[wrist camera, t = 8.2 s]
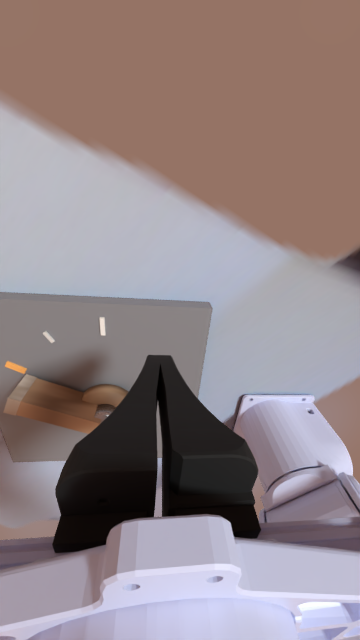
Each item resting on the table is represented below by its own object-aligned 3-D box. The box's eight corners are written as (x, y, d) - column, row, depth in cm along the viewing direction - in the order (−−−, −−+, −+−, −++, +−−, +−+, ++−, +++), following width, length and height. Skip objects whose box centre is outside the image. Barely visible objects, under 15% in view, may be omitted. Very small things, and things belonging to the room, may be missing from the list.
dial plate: (209, 302, 23) (212, 309, 21) (187, 446, 33) (188, 458, 31) (-37, 290, 20) (-53, 297, 19) (19, 450, 30) (12, 463, 29)
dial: (144, 395, 25) (142, 419, 22) (122, 429, 27) (118, 456, 25) (32, 357, 22) (13, 381, 19) (17, 400, 24) (-2, 427, 21)
